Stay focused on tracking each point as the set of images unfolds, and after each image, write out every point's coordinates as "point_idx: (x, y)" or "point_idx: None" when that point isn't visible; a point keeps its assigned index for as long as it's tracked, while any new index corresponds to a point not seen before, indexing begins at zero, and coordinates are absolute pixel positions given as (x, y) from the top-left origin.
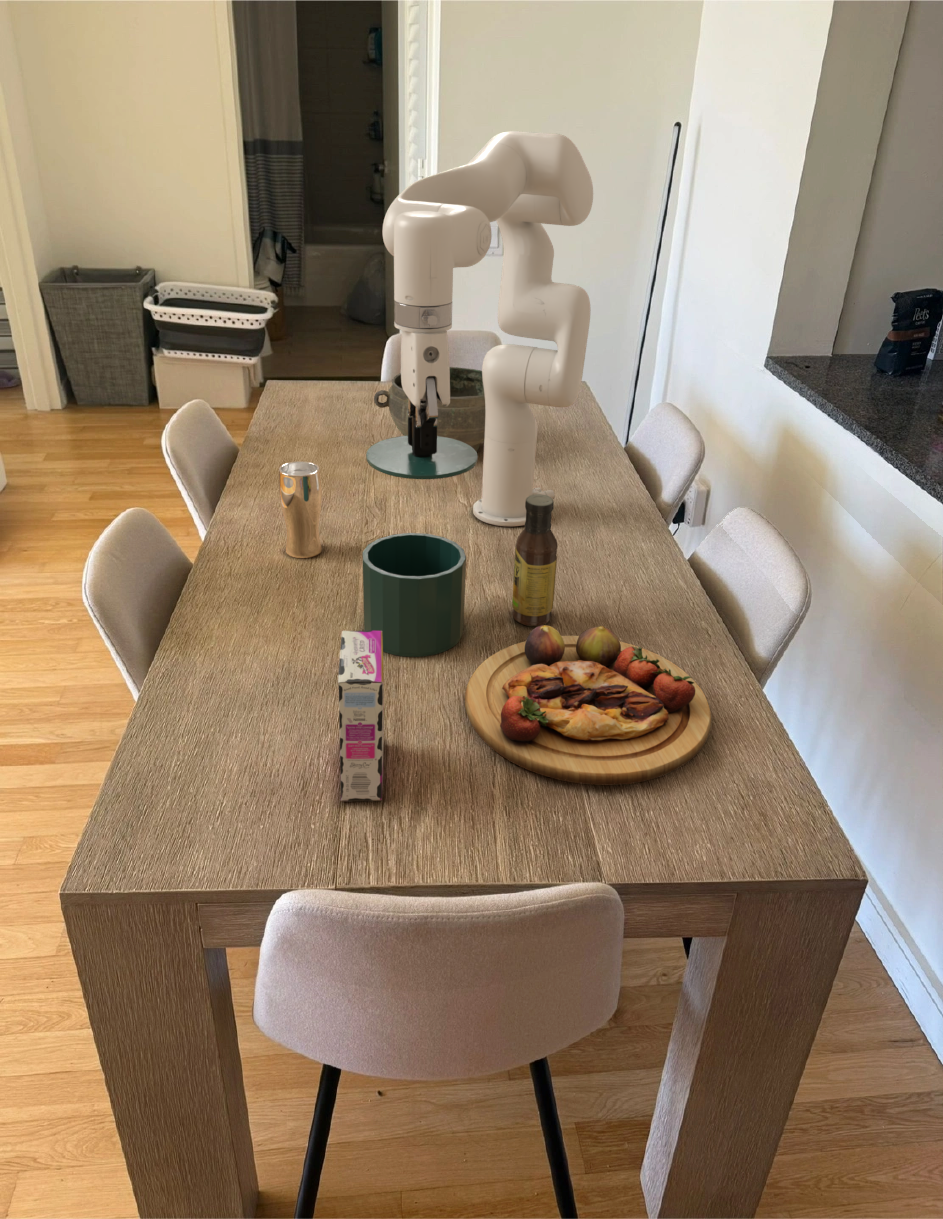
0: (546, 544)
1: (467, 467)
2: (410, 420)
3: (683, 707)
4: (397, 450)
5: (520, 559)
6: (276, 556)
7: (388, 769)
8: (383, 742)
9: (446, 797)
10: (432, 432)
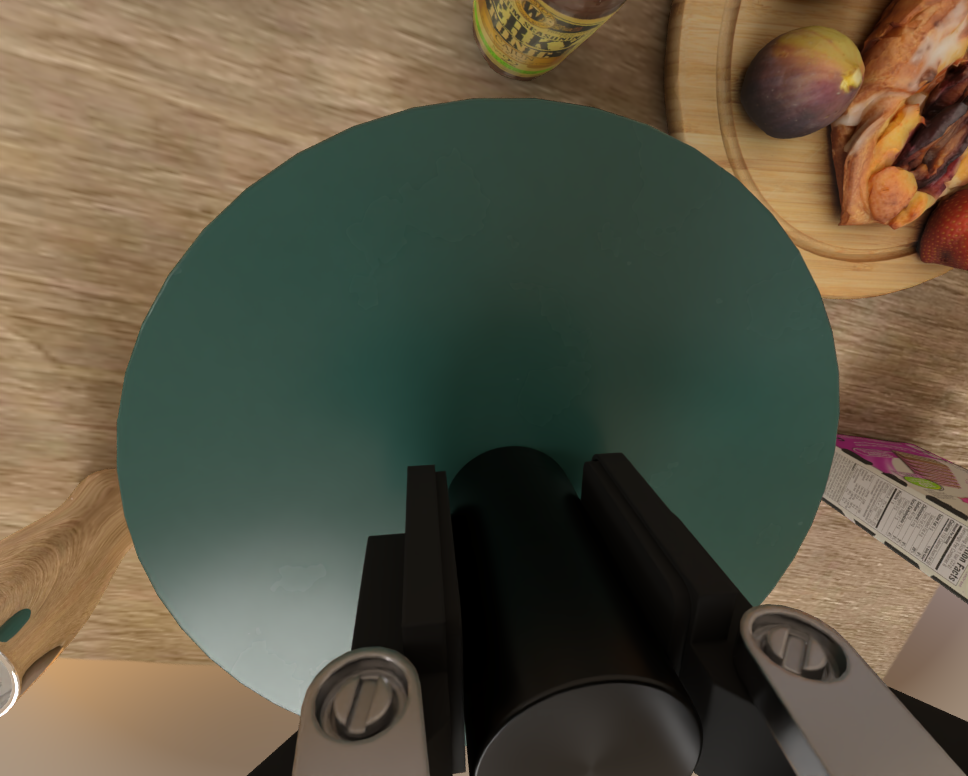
0: None
1: (803, 265)
2: (464, 770)
3: None
4: None
5: (602, 21)
6: None
7: (860, 426)
8: (959, 472)
9: (945, 363)
10: (747, 600)
